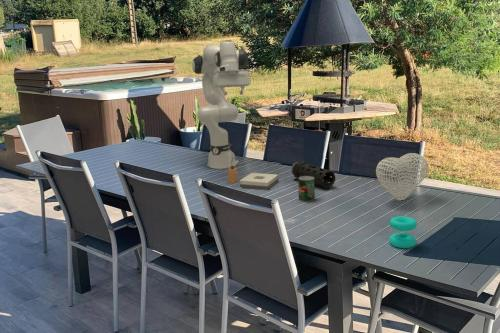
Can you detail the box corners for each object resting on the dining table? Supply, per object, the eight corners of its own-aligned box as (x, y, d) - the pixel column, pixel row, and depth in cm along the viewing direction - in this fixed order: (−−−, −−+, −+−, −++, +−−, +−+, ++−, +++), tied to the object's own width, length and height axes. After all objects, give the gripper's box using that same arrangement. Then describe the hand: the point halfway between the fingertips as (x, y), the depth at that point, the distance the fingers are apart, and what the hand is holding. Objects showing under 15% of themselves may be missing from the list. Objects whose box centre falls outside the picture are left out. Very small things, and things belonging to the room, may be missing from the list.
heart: (392, 210, 239) (394, 163, 233) (368, 202, 252) (369, 157, 246) (433, 199, 253) (436, 154, 248) (408, 191, 266) (410, 149, 261)
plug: (231, 181, 296) (230, 164, 293) (237, 181, 294) (237, 165, 292) (228, 183, 292) (227, 166, 290) (234, 183, 291) (234, 167, 288)
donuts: (418, 216, 201) (416, 225, 192) (417, 240, 203) (415, 250, 194) (391, 214, 204) (388, 222, 195) (390, 238, 207) (387, 247, 198)
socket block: (251, 179, 298) (251, 172, 297) (278, 181, 292) (278, 174, 291) (240, 187, 283) (239, 180, 282) (267, 190, 277) (267, 182, 276)
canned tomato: (317, 198, 260) (317, 176, 258) (310, 202, 254) (310, 180, 251) (302, 196, 264) (302, 175, 262) (295, 200, 258) (295, 178, 255)
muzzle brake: (321, 191, 272) (321, 172, 270) (290, 179, 295) (289, 162, 293) (335, 188, 277) (336, 169, 274) (303, 177, 300) (303, 159, 298)
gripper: (245, 70, 290) (248, 95, 290) (211, 71, 282) (214, 96, 281) (250, 67, 284) (253, 92, 284) (214, 68, 276) (217, 94, 276)
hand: (233, 94), depth 283 cm, fingers open, 8 cm apart
